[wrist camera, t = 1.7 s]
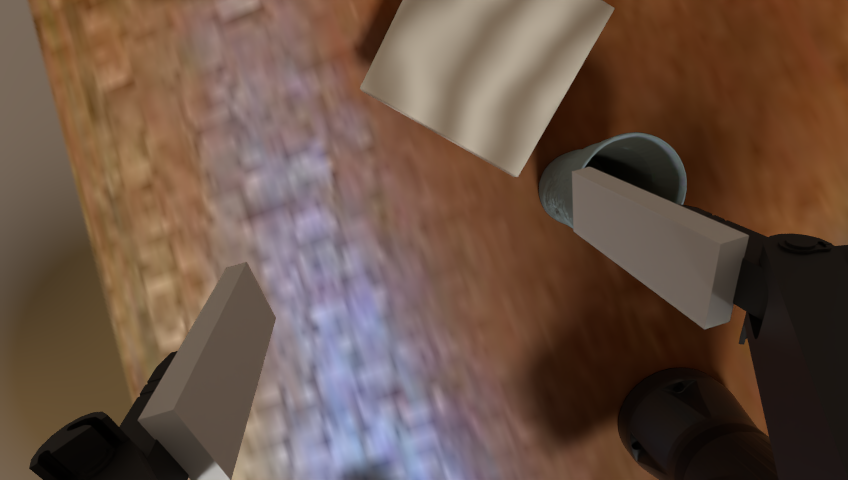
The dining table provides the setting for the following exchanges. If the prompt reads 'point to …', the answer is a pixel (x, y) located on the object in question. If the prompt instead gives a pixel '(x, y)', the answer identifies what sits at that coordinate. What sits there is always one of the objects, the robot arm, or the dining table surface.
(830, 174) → the dining table surface
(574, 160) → the grey green cup
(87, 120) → the dining table surface
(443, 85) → the stand
